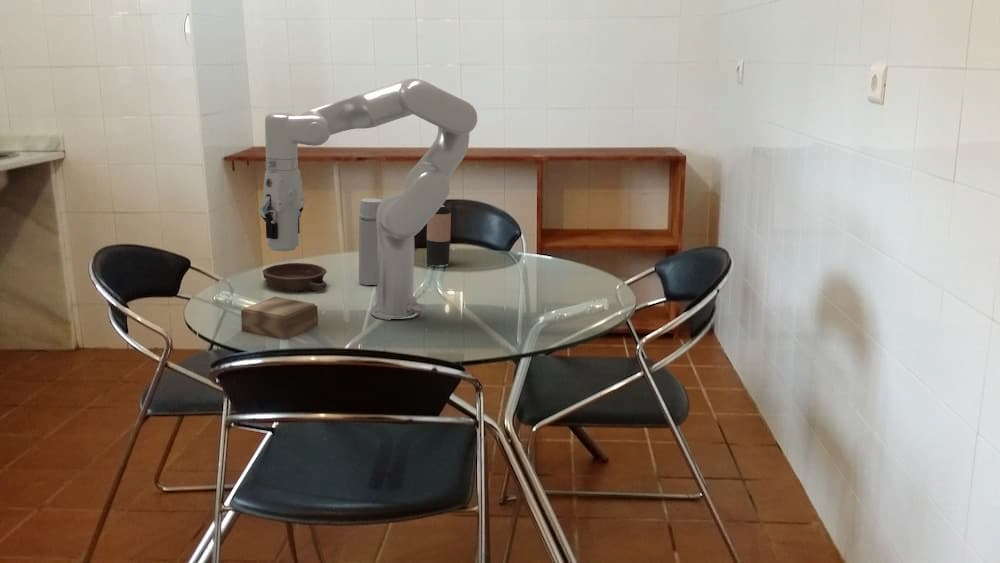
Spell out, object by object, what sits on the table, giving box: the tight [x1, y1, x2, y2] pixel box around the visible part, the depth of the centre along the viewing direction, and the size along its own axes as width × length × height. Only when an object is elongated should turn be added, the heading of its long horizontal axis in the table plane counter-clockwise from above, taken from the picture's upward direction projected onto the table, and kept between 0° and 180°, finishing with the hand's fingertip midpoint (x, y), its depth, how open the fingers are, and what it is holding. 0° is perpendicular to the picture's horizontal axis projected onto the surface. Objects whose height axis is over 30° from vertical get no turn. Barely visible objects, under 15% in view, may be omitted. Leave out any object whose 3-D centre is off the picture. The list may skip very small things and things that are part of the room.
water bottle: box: [358, 197, 383, 286], centre depth 255 cm, size 9×8×25 cm
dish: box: [262, 262, 327, 292], centre depth 251 cm, size 18×22×5 cm
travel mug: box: [426, 202, 452, 265], centre depth 280 cm, size 8×8×20 cm
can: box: [267, 203, 299, 252], centre depth 215 cm, size 8×8×12 cm
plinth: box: [240, 296, 319, 340], centre depth 214 cm, size 13×13×6 cm
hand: (283, 235), depth 215 cm, fingers closed on can, 7 cm apart
